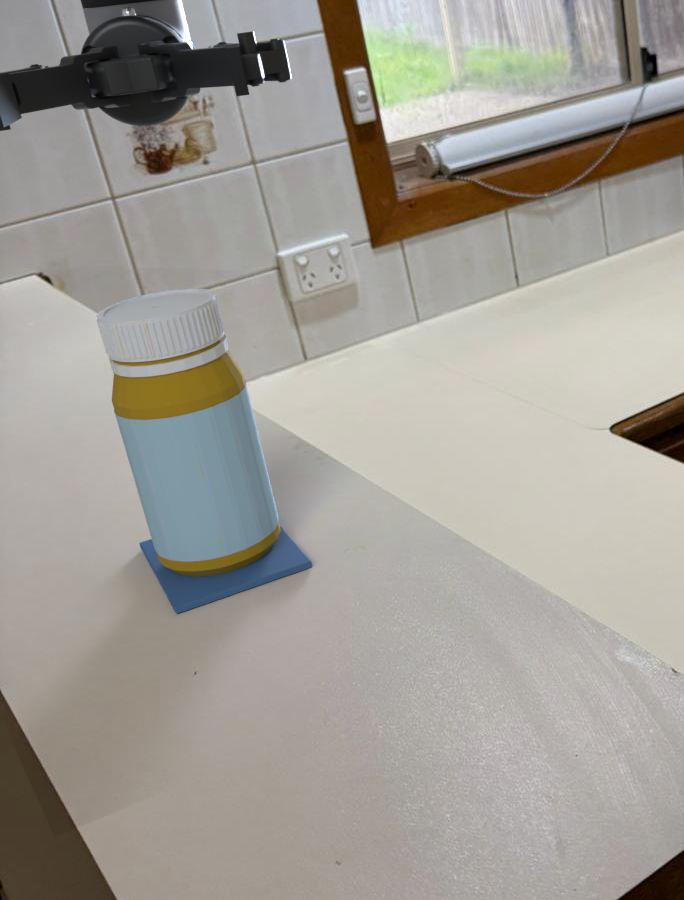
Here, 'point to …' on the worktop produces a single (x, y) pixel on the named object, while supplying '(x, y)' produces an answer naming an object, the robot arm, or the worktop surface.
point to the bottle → (189, 432)
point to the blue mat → (227, 575)
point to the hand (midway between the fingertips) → (116, 87)
